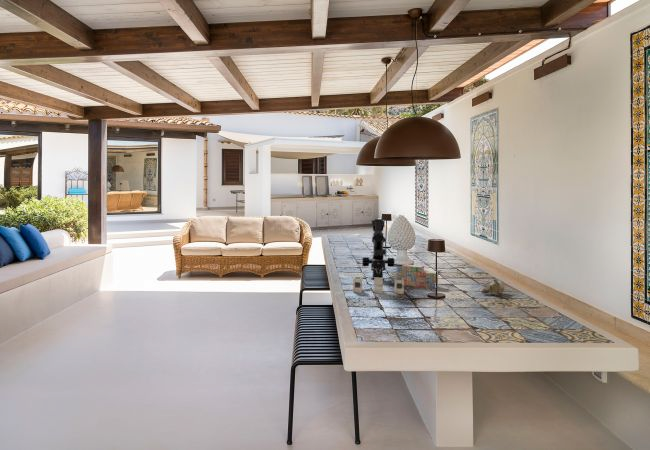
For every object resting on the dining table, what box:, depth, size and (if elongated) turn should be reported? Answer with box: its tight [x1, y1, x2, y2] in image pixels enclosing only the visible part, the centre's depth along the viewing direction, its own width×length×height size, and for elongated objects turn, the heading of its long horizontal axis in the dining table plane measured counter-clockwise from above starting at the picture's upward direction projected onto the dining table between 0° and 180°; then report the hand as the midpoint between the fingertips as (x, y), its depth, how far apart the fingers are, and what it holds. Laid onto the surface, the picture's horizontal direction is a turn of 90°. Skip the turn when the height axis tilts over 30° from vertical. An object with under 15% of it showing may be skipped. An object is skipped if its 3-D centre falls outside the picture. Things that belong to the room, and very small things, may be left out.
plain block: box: [373, 277, 384, 294], centre depth 281 cm, size 5×5×8 cm
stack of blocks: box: [401, 263, 439, 289], centre depth 298 cm, size 21×6×12 cm, turn 62°
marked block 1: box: [352, 276, 363, 294], centre depth 282 cm, size 5×5×8 cm
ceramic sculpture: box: [481, 279, 505, 297], centre depth 276 cm, size 11×9×15 cm
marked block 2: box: [394, 277, 405, 295], centre depth 280 cm, size 5×5×8 cm
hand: (378, 273), depth 280 cm, fingers closed
